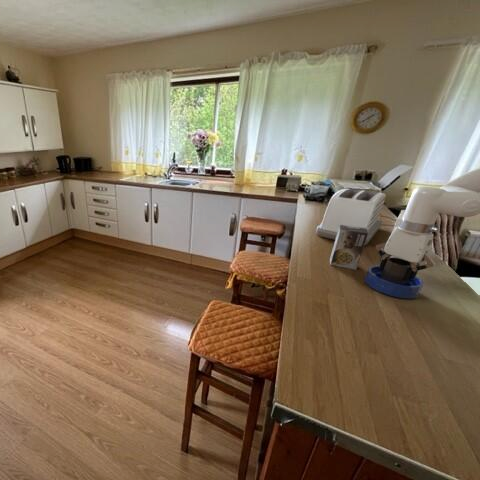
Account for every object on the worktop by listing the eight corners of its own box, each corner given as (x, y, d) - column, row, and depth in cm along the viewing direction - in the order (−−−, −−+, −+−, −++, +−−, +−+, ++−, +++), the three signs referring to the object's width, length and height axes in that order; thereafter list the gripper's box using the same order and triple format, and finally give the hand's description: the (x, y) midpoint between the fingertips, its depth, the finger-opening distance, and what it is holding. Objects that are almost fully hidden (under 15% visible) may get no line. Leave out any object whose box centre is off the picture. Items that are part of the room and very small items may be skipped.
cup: (409, 284, 88) (418, 264, 85) (398, 289, 85) (407, 268, 82) (386, 275, 94) (394, 256, 91) (375, 279, 91) (383, 259, 88)
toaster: (381, 227, 150) (394, 189, 141) (364, 248, 121) (381, 203, 112) (336, 218, 165) (346, 183, 156) (312, 235, 136) (323, 194, 128)
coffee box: (354, 264, 107) (367, 228, 101) (356, 270, 102) (369, 233, 95) (329, 258, 111) (339, 224, 105) (329, 265, 106) (340, 228, 100)
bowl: (426, 293, 87) (432, 281, 85) (403, 304, 82) (409, 291, 80) (378, 273, 99) (382, 262, 98) (355, 281, 94) (359, 270, 92)
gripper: (458, 233, 76) (433, 284, 83) (390, 217, 90) (373, 261, 97) (446, 237, 73) (421, 290, 80) (378, 219, 87) (361, 265, 94)
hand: (395, 274), depth 88 cm, fingers closed on cup, 6 cm apart
